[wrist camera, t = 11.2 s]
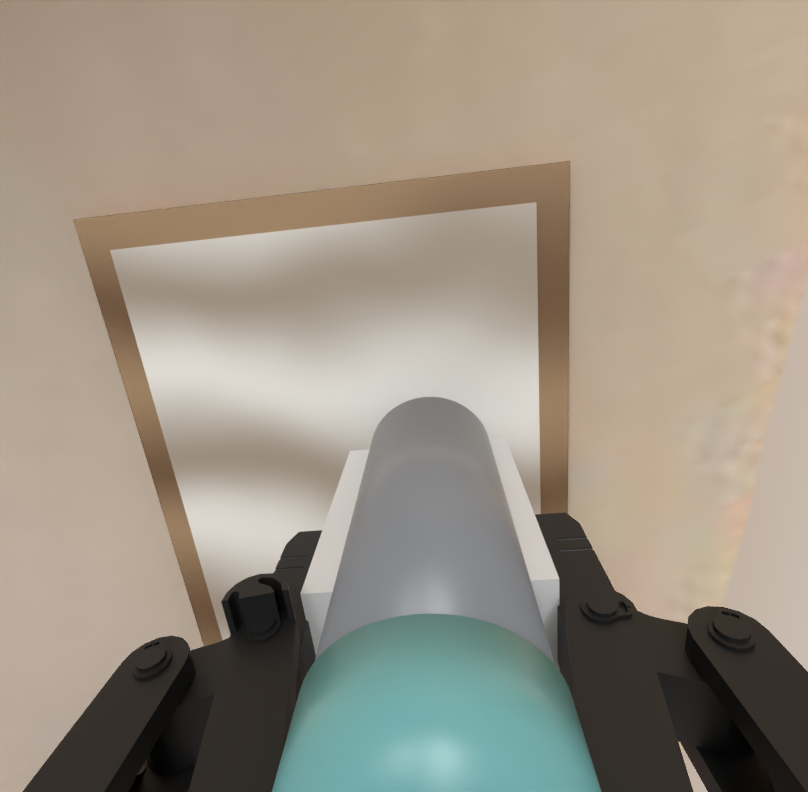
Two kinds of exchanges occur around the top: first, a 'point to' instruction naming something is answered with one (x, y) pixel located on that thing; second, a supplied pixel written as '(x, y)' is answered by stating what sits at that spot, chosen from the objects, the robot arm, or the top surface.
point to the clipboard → (330, 346)
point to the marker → (433, 634)
